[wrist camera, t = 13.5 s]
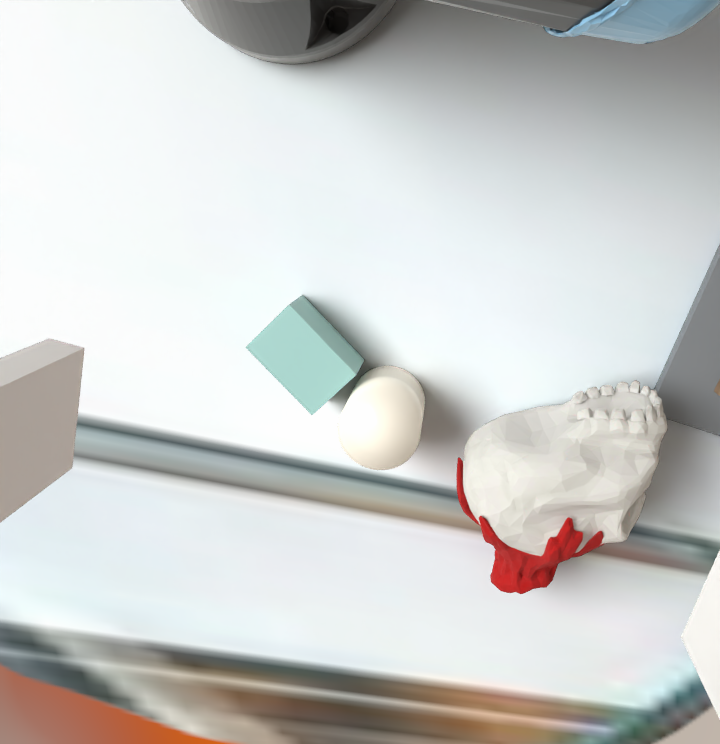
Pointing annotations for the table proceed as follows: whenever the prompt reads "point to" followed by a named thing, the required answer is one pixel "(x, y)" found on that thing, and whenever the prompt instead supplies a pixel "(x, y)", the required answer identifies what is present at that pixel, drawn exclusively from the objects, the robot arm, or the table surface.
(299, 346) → the teal block
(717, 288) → the mat
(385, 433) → the cream capsule cylinder
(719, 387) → the walnut cube
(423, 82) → the table surface
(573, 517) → the white two-tone toothed figurine
